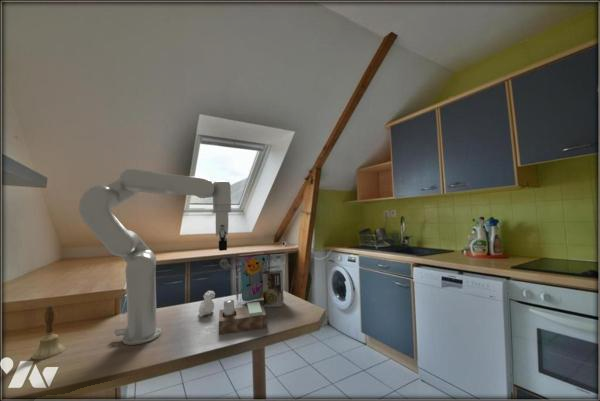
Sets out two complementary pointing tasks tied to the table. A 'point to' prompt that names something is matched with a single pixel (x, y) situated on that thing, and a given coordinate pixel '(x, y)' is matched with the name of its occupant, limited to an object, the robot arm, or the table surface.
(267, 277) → the coffee box
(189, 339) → the table surface
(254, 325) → the socket block
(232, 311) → the peg
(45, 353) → the hand bell
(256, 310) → the button
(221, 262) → the box
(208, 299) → the bust
